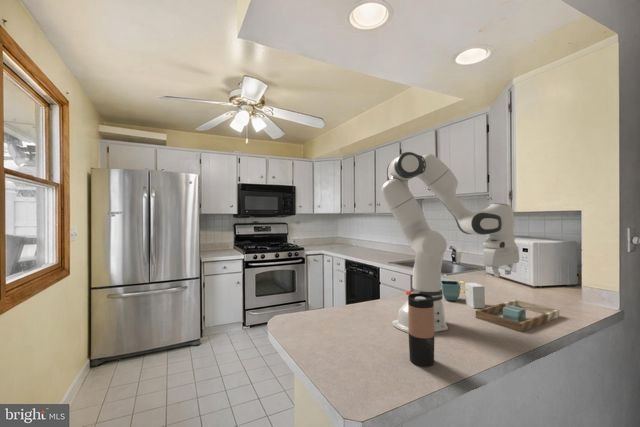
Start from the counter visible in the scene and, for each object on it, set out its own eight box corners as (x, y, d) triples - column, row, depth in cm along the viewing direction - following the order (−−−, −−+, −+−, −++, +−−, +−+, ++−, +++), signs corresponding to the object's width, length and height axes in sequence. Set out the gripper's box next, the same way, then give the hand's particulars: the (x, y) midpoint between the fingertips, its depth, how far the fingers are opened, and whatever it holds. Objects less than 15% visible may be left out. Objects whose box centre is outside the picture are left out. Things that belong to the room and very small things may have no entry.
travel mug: (428, 354, 94) (427, 293, 94) (439, 367, 87) (438, 299, 87) (405, 355, 94) (404, 293, 94) (413, 367, 86) (412, 300, 86)
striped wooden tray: (520, 332, 111) (520, 324, 111) (475, 317, 126) (475, 310, 126) (559, 317, 126) (559, 310, 126) (514, 305, 141) (514, 299, 141)
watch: (457, 291, 170) (456, 281, 170) (460, 291, 171) (460, 280, 171) (465, 293, 164) (464, 282, 165) (469, 292, 165) (468, 282, 166)
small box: (485, 308, 138) (484, 286, 138) (473, 308, 138) (473, 286, 139) (476, 303, 146) (476, 282, 146) (465, 303, 146) (464, 282, 147)
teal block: (517, 322, 121) (517, 311, 121) (503, 318, 126) (502, 307, 126) (525, 319, 124) (525, 309, 124) (510, 315, 129) (510, 305, 129)
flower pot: (442, 301, 150) (442, 284, 150) (440, 296, 159) (440, 280, 159) (461, 302, 148) (460, 285, 148) (458, 297, 156) (457, 281, 156)
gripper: (507, 240, 129) (508, 271, 129) (480, 243, 119) (480, 277, 119) (523, 241, 124) (524, 273, 124) (495, 244, 114) (496, 280, 113)
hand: (502, 275), depth 121 cm, fingers open, 7 cm apart
